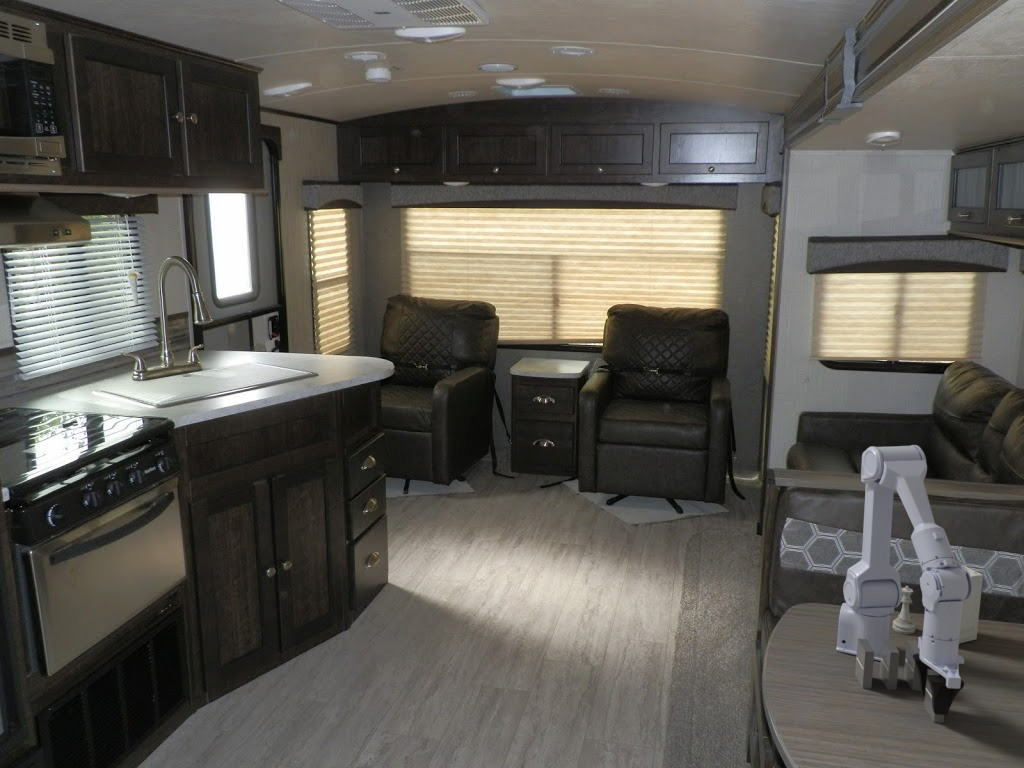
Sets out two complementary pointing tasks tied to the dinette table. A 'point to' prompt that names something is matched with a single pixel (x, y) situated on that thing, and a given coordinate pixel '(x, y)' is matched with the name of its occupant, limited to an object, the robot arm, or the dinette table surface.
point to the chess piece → (904, 615)
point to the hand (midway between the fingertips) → (934, 704)
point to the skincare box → (971, 609)
